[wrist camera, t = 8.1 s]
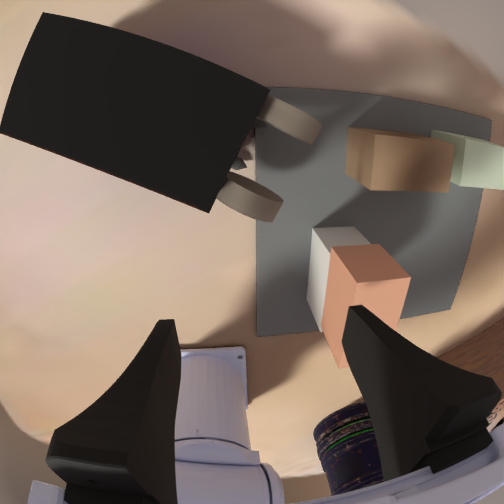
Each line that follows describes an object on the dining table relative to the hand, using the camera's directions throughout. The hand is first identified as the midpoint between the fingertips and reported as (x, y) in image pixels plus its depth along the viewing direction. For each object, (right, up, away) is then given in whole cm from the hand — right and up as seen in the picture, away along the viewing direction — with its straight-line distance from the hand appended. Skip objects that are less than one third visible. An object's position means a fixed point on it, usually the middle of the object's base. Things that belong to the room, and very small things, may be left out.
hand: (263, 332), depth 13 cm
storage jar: (+12, -19, +23) cm, 32 cm away
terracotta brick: (+6, +1, +7) cm, 9 cm away
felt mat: (+10, +5, +10) cm, 15 cm away
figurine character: (-5, +12, +5) cm, 14 cm away
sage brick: (+16, +11, +8) cm, 21 cm away
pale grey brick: (+5, +2, +11) cm, 12 cm away
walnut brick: (+9, +10, +7) cm, 15 cm away
